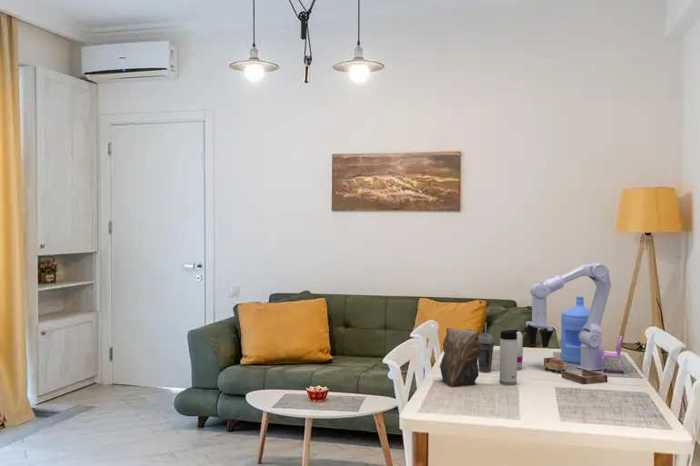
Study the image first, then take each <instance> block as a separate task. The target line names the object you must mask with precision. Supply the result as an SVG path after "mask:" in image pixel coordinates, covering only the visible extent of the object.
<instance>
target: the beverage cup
mask: <svg viewBox="0 0 700 466" xmlns="http://www.w3.org/2000/svg"><path fill="white" fill-rule="evenodd" d="M484 323H485V324H484V332H482V333H479V335H478V341H479V344H480V346H479V347H480V348H479V351H480V355H479V357H478V360H477V362H478V372H480V373H491V372H492V363H493V354H494V347H495V343H496V342H495V340H494V337H493V335H492V334H491V333H489V332H487V322H486V321H485V322H484Z"/></svg>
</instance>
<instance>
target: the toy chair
mask: <svg viewBox="0 0 700 466" xmlns="http://www.w3.org/2000/svg"><path fill="white" fill-rule="evenodd" d="M622 339H623V336H622V335H619V336H618V338H617V341H616V344H615V348H616V351H617V352H607V351H604V355H603V356H602V370H601V371H602V374H604V373H605V369H603V359H604V358H605V359H606V358H614V359H620V360H621V366H622V371H623V374H625V375H626V373H625V369H624V363H623V362H624V361H623V358H622V356H621V355H622V354H621V353H622V346H623V342H622Z"/></svg>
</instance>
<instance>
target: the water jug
mask: <svg viewBox="0 0 700 466" xmlns="http://www.w3.org/2000/svg"><path fill="white" fill-rule="evenodd" d="M575 298H576V300H575V306H574V307H571V308H569V309H567V310H565V311H562V313H561V317H560V321H561V327H560V328H561V329H560V333H561V334H560V343H561V345H560V347H561V348H560V359H562V360H564V363H570V364H578V365H580V356H581V342H580V341H579V338H578V335H579V333H580V332H581V331H582V329H583V326H584V325H585V324H586V323H587V320H588V316H589V313H590V309H589V308H587V307H586V306H584V303H585V301H584V298H585V297H584V296H576V297H575Z"/></svg>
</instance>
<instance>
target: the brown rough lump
mask: <svg viewBox="0 0 700 466" xmlns="http://www.w3.org/2000/svg"><path fill="white" fill-rule="evenodd" d="M479 335H480V331H479V330H477V331H476V330H472V329H470V328H465V329H462V328H459V329H458V328H453V327H446V335H445V337H444V339H443V343H442V349H443V355H442V358H441V362H440V364H439V368H440V369H439V370H440V374H441V379H442V380H441V381H442V382H443V383H444V384H446V385H447V386H448V387H450V388H458V387H469V386H475V385H477V383H476V380H477V378H478V377H479V364H478V357H479V355H480V351H479V348H480V347H479V346H480V344H479V341H478V336H479Z"/></svg>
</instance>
